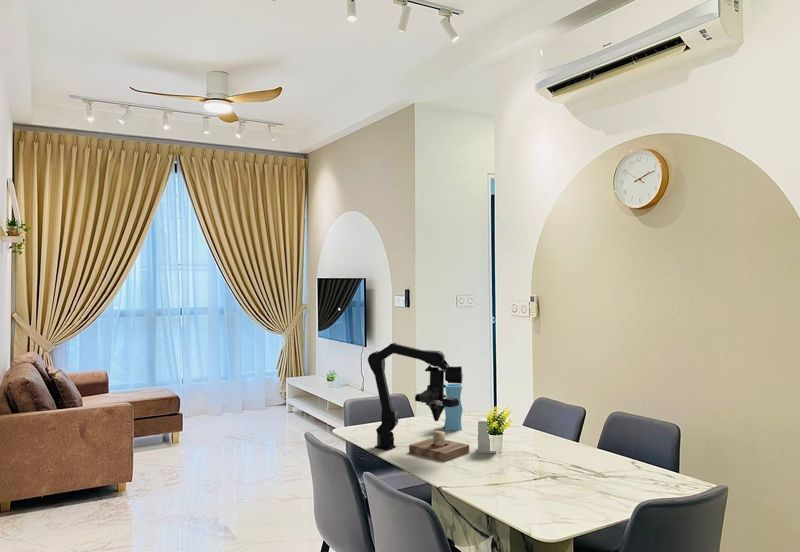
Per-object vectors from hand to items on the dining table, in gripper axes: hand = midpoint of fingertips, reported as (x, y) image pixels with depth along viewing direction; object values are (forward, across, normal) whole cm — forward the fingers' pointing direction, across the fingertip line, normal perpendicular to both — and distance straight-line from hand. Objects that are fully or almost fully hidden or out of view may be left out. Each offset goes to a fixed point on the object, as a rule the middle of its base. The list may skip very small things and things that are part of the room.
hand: (436, 421), depth 245 cm
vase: (+12, -18, +35) cm, 41 cm away
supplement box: (+12, +16, +14) cm, 24 cm away
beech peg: (+12, +3, -2) cm, 12 cm away
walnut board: (+12, +3, -1) cm, 12 cm away
